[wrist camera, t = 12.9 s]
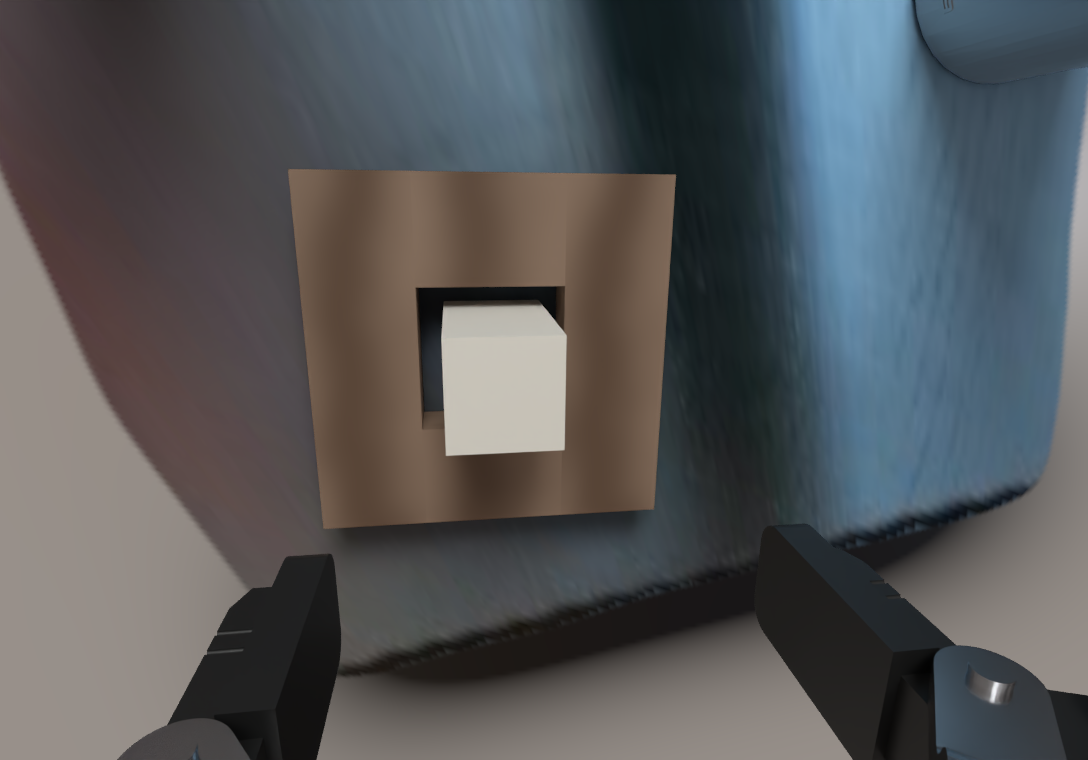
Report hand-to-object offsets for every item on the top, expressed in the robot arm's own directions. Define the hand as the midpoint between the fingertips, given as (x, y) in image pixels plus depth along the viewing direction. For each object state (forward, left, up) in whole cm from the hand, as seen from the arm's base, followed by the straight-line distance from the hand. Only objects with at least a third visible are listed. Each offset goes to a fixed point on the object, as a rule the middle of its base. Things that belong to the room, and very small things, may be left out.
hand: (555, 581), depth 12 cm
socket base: (0, 0, -20) cm, 20 cm away
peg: (0, 0, -20) cm, 20 cm away
